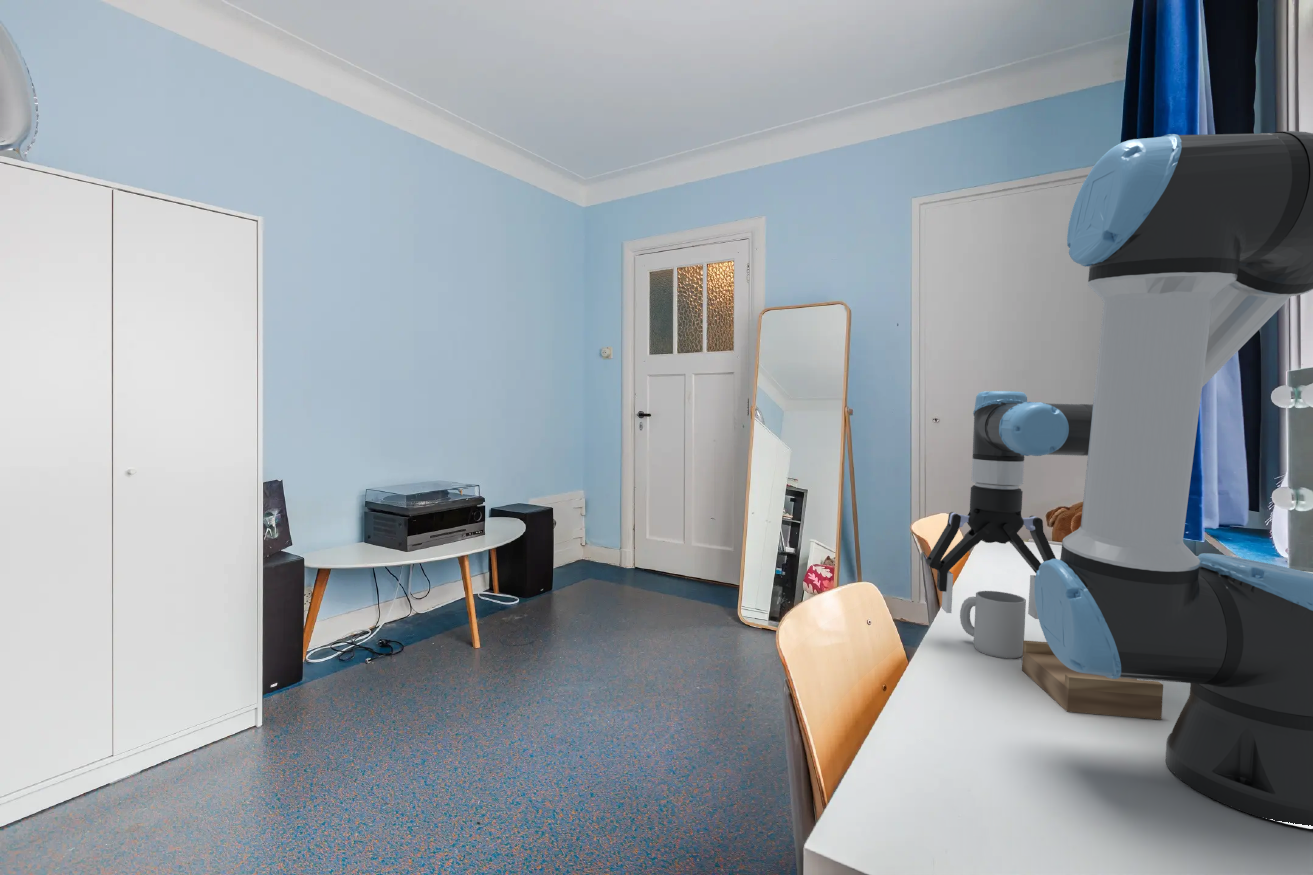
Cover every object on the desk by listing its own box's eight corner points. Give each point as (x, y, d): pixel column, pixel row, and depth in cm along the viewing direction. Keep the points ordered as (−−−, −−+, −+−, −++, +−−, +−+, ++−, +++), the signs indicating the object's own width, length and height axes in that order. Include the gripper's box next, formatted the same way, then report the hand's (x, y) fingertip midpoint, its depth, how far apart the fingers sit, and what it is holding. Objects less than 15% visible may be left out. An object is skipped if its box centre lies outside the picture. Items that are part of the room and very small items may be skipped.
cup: (1011, 662, 100) (1014, 605, 99) (948, 643, 107) (950, 590, 107) (1031, 653, 104) (1033, 598, 104) (969, 635, 112) (971, 584, 112)
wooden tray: (1161, 719, 81) (1163, 684, 81) (1067, 711, 83) (1068, 677, 83) (1101, 676, 95) (1102, 646, 95) (1021, 669, 97) (1023, 640, 96)
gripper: (1067, 486, 107) (1060, 611, 108) (911, 480, 110) (905, 601, 111) (1091, 492, 99) (1083, 626, 100) (922, 485, 103) (916, 615, 104)
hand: (989, 613), depth 106 cm, fingers open, 13 cm apart
